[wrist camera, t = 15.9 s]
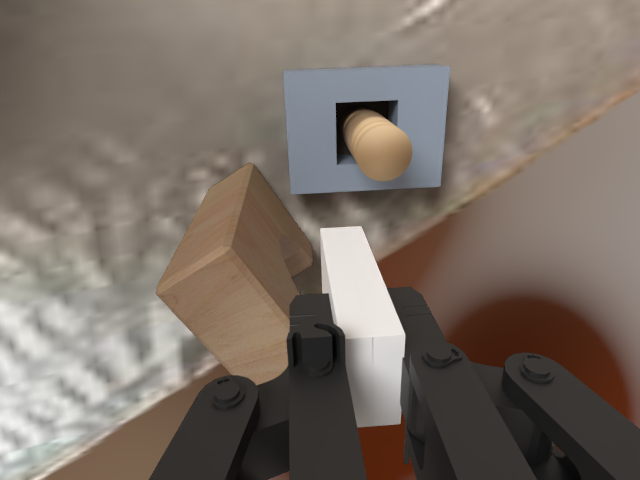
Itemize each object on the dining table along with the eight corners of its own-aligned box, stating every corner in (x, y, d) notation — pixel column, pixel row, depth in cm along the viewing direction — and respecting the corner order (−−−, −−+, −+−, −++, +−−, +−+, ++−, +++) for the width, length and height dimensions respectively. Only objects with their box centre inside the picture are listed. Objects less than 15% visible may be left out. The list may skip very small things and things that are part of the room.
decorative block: (312, 245, 47) (329, 372, 29) (268, 271, 48) (257, 409, 30) (253, 158, 43) (229, 243, 25) (206, 188, 44) (149, 291, 26)
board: (283, 70, 40) (283, 72, 36) (435, 64, 41) (450, 66, 37) (290, 182, 44) (290, 194, 41) (427, 175, 45) (440, 186, 41)
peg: (338, 105, 42) (356, 127, 31) (380, 103, 42) (413, 124, 31) (339, 147, 43) (357, 182, 32) (379, 145, 43) (411, 179, 32)
